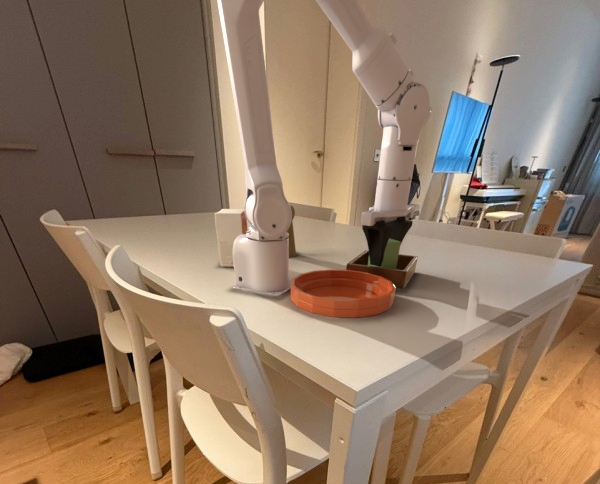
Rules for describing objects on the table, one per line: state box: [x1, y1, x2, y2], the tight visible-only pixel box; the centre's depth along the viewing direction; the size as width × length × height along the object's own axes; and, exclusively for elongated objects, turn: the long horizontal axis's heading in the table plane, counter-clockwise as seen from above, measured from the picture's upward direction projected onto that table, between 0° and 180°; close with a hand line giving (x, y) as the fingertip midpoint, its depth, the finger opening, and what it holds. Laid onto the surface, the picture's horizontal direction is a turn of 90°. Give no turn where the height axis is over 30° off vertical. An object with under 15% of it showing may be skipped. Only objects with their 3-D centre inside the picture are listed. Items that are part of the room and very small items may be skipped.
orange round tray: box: [290, 269, 397, 319], centre depth 57 cm, size 17×17×3 cm
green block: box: [368, 238, 402, 269], centre depth 64 cm, size 4×4×5 cm
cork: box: [287, 204, 297, 258], centre depth 82 cm, size 6×6×11 cm
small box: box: [214, 208, 248, 268], centre depth 74 cm, size 8×6×10 cm
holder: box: [345, 249, 419, 290], centre depth 68 cm, size 11×13×4 cm
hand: (382, 262), depth 65 cm, fingers closed on green block, 4 cm apart
